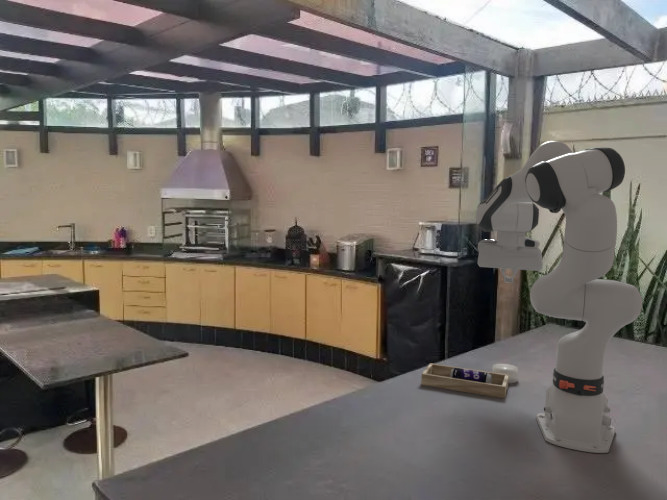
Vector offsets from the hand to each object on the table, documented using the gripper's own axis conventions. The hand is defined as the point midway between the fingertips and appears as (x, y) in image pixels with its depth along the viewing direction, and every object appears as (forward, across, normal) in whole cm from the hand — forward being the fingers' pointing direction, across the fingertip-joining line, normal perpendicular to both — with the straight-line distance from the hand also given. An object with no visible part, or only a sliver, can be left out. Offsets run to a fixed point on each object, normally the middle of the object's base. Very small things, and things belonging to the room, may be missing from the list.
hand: (508, 282), depth 172 cm
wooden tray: (+32, -10, -15) cm, 36 cm away
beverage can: (+29, -15, -17) cm, 36 cm away
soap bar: (+32, +1, -3) cm, 32 cm away
